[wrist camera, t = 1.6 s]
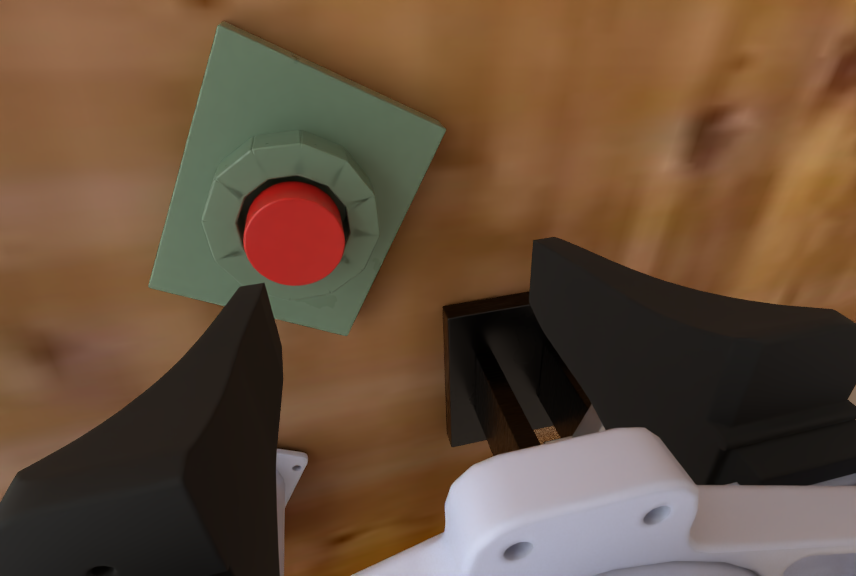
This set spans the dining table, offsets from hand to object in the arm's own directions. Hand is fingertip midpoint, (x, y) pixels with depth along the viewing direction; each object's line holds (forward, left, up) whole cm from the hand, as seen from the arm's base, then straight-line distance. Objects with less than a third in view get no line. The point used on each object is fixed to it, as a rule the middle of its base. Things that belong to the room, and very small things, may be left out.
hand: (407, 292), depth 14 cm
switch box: (-3, +2, -10) cm, 11 cm away
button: (-3, +2, -8) cm, 8 cm away
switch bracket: (-8, -13, -10) cm, 18 cm away
